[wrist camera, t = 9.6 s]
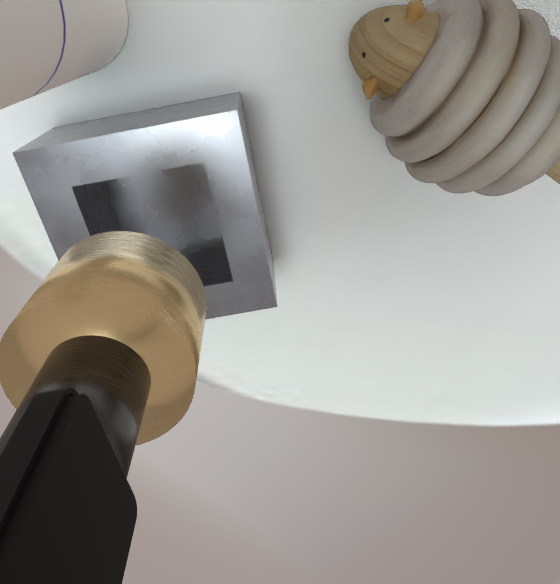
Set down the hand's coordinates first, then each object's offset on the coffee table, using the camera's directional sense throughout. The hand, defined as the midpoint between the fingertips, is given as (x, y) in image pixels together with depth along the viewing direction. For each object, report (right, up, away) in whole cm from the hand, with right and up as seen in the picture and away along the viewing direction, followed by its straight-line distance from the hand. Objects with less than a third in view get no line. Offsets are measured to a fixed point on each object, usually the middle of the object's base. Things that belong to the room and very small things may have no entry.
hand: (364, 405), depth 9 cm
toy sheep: (+9, +16, +27) cm, 32 cm away
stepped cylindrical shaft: (-9, +1, +16) cm, 18 cm away
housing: (-10, +9, +29) cm, 32 cm away
